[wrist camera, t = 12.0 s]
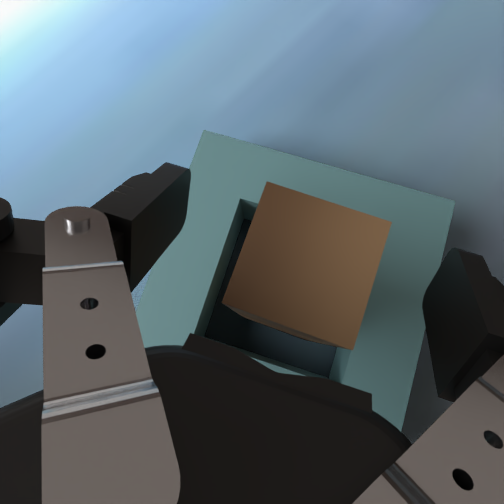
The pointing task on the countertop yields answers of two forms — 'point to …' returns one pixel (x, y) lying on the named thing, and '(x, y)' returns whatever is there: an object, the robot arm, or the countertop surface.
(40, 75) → the countertop surface
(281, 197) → the tall brown block
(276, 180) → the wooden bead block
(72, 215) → the robot arm
